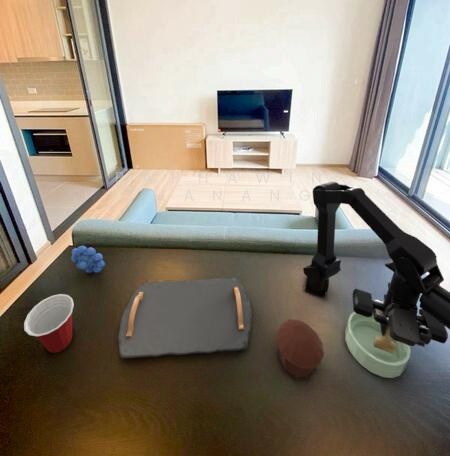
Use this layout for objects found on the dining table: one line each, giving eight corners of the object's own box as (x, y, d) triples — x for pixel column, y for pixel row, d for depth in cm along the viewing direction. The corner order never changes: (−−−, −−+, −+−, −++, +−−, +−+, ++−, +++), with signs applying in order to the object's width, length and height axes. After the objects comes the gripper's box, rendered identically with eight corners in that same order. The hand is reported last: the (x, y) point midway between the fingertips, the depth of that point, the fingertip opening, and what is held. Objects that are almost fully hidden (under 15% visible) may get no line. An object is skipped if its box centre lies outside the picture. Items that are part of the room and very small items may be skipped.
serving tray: (245, 282, 86) (246, 269, 84) (257, 356, 65) (259, 340, 63) (134, 288, 84) (131, 275, 82) (108, 366, 62) (104, 351, 60)
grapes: (68, 281, 87) (60, 254, 82) (79, 266, 93) (72, 241, 89) (100, 282, 86) (94, 255, 82) (109, 267, 93) (104, 241, 88)
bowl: (345, 363, 63) (349, 349, 61) (344, 315, 76) (347, 302, 74) (410, 390, 58) (417, 376, 56) (398, 333, 70) (403, 320, 68)
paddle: (374, 348, 65) (383, 320, 61) (373, 341, 67) (382, 313, 63) (393, 356, 63) (404, 327, 59) (391, 348, 65) (402, 319, 61)
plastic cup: (32, 373, 61) (18, 342, 57) (39, 333, 70) (28, 304, 66) (82, 351, 66) (72, 321, 61) (83, 317, 75) (74, 288, 70)
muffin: (265, 352, 66) (267, 327, 62) (291, 327, 72) (295, 303, 68) (302, 397, 57) (308, 371, 53) (328, 364, 63) (335, 338, 60)
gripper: (362, 306, 54) (348, 351, 60) (470, 342, 47) (444, 389, 53) (358, 269, 64) (347, 311, 69) (448, 295, 57) (427, 339, 62)
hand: (387, 335), depth 63 cm, fingers closed on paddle, 2 cm apart
